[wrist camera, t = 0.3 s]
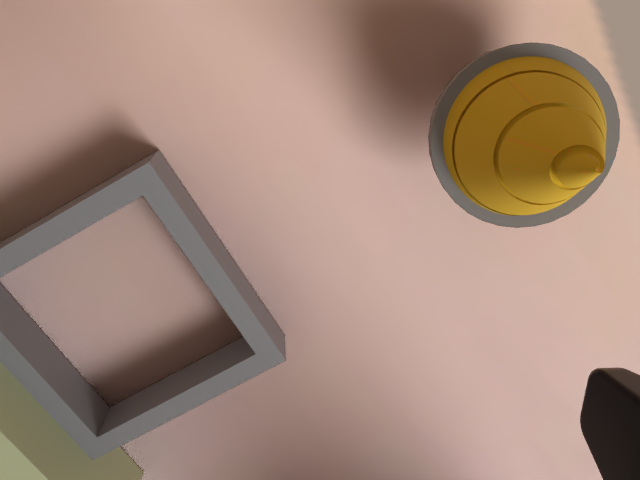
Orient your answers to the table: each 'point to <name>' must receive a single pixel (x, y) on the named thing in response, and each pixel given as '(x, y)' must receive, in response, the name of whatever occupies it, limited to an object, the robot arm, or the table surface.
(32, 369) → the green box with handle
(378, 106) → the table surface
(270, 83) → the table surface
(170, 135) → the table surface
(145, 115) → the table surface
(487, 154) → the yellow cone shape
